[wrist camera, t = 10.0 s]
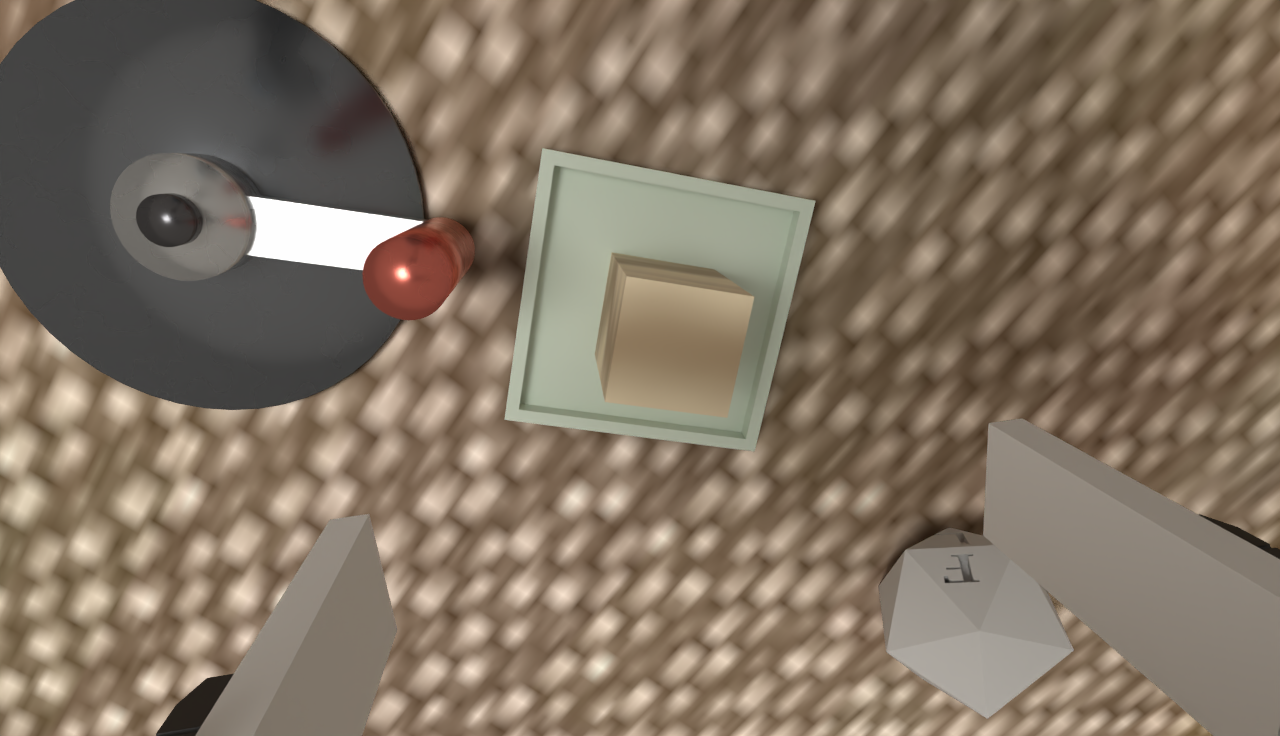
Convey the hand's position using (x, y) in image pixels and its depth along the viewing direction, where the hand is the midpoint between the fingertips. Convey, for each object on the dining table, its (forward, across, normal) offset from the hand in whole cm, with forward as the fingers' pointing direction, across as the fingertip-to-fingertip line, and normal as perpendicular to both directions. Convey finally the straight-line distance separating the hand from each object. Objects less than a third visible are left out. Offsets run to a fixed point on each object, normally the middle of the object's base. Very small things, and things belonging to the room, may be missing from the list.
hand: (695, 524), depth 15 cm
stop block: (+20, +2, 0) cm, 20 cm away
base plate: (+20, -17, +7) cm, 27 cm away
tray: (+20, +2, 0) cm, 20 cm away
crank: (+20, -13, +6) cm, 24 cm away
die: (+21, +16, -18) cm, 32 cm away
